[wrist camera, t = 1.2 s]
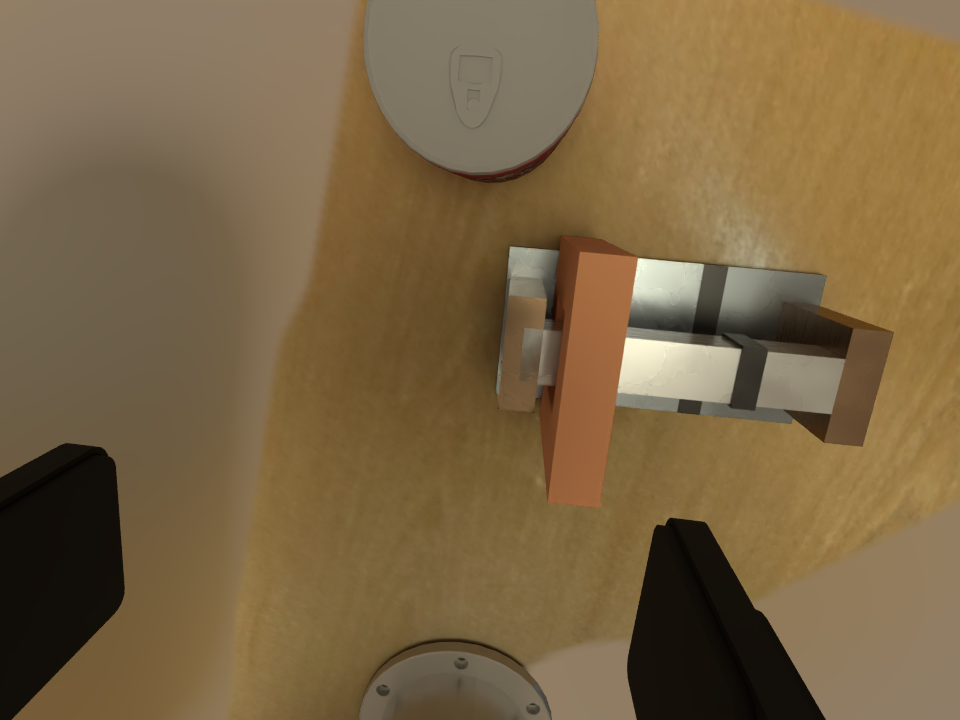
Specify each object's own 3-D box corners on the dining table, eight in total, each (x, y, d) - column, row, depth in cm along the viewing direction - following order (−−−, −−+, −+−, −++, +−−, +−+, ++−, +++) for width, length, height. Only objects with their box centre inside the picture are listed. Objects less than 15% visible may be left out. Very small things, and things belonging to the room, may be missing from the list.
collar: (539, 415, 32) (547, 502, 23) (561, 235, 30) (579, 251, 20) (576, 419, 32) (599, 508, 23) (601, 239, 30) (638, 257, 20)
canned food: (435, 197, 31) (391, 195, 20) (401, 29, 29) (332, -70, 18) (583, 167, 30) (618, 148, 19) (558, -8, 28) (581, -135, 17)
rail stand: (496, 390, 33) (489, 441, 26) (510, 245, 31) (507, 258, 24) (786, 419, 33) (860, 480, 26) (820, 274, 31) (911, 296, 23)
